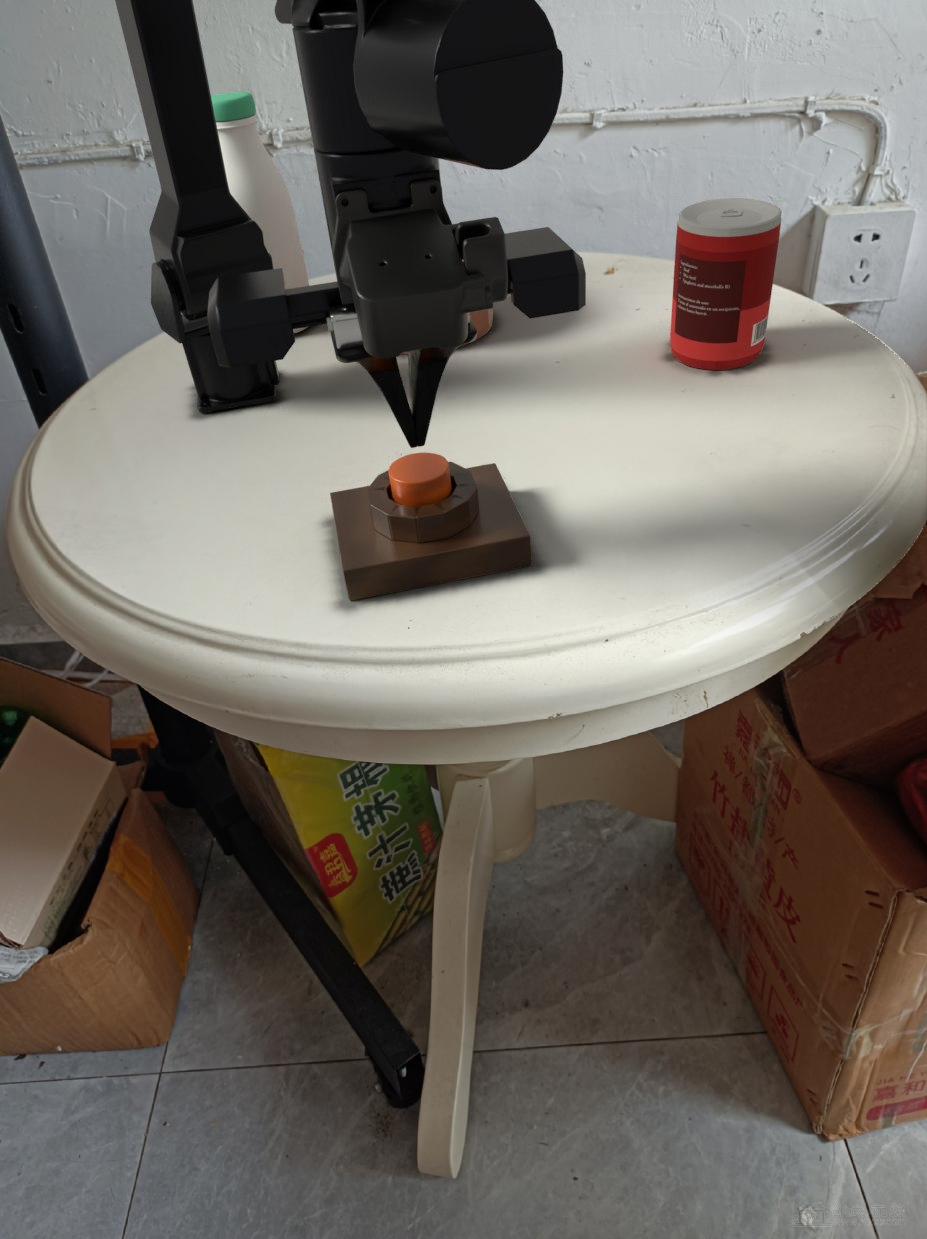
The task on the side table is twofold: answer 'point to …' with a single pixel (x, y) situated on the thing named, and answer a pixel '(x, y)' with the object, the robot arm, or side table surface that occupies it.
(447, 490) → the button
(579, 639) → the side table surface
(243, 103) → the milk bottle
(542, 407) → the side table surface
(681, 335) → the canned food
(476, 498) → the block
